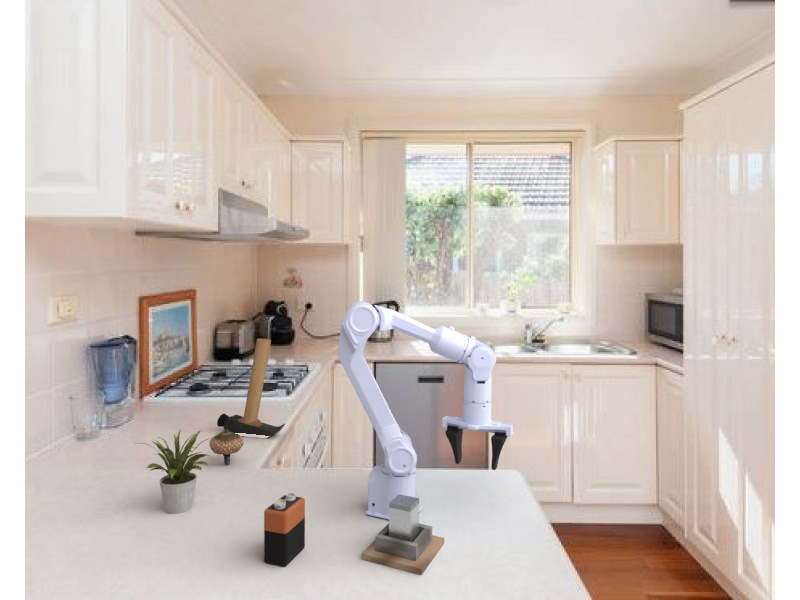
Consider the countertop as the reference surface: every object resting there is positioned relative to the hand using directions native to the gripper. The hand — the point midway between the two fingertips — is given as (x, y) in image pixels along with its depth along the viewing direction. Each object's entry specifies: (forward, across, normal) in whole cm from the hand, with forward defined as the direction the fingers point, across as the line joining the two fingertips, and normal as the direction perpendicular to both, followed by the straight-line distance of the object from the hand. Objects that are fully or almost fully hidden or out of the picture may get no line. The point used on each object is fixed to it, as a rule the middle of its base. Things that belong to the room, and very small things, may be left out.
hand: (476, 465), depth 105 cm
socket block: (+9, -7, -21) cm, 24 cm away
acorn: (+10, -64, -3) cm, 65 cm away
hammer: (+10, -76, +20) cm, 79 cm away
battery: (+10, -25, -31) cm, 41 cm away
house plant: (+10, -56, -27) cm, 63 cm away
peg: (+8, -7, -21) cm, 24 cm away
